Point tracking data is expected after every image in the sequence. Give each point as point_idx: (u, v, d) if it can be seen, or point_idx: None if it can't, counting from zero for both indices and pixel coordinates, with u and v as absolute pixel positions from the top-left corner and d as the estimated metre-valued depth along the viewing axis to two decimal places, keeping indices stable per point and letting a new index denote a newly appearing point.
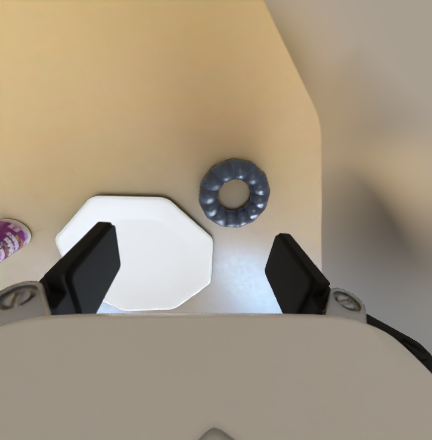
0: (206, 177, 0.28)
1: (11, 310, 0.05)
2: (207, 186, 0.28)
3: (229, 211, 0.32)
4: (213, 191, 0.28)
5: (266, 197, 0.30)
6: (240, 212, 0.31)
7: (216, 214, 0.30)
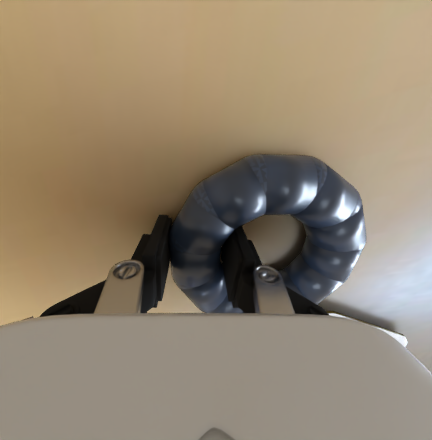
0: None
1: (120, 279, 0.07)
2: (205, 309, 0.11)
3: (293, 274, 0.12)
4: (223, 303, 0.11)
5: (331, 187, 0.08)
6: (315, 259, 0.11)
7: None
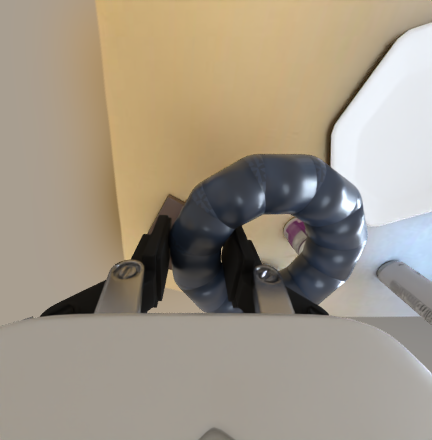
0: None
1: (120, 279, 0.07)
2: (207, 310, 0.12)
3: (295, 273, 0.12)
4: (224, 303, 0.11)
5: (330, 185, 0.08)
6: (316, 258, 0.11)
7: None
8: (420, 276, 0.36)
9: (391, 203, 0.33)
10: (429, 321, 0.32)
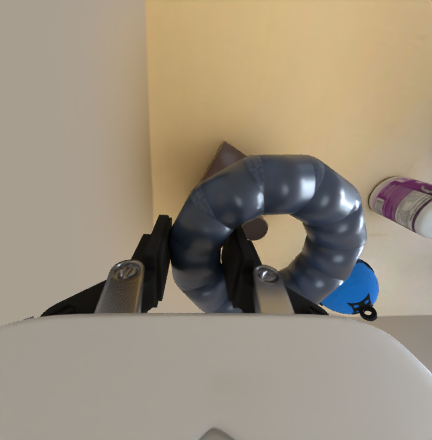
0: None
1: (121, 279, 0.07)
2: (207, 310, 0.12)
3: (295, 273, 0.12)
4: (224, 303, 0.11)
5: (329, 186, 0.08)
6: (316, 258, 0.11)
7: None
8: None
9: None
10: None
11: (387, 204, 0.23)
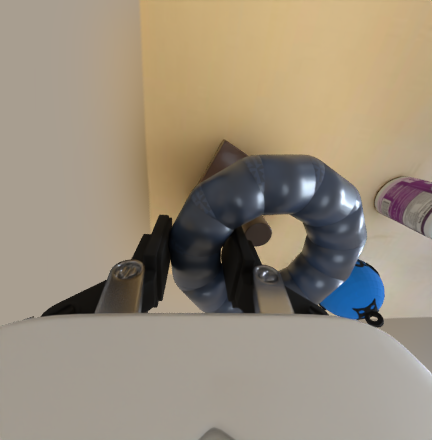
0: None
1: (121, 279, 0.07)
2: (207, 310, 0.12)
3: (295, 273, 0.12)
4: (224, 303, 0.11)
5: (329, 186, 0.08)
6: (316, 258, 0.11)
7: None
8: None
9: None
10: None
11: (394, 205, 0.22)
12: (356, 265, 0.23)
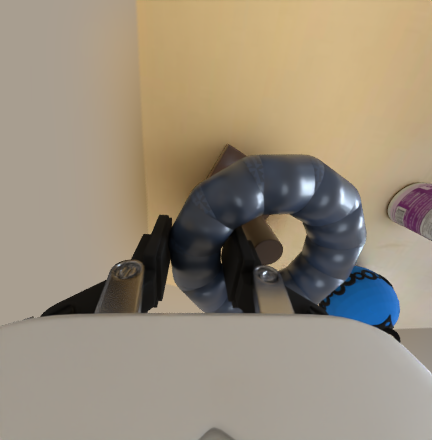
0: None
1: (121, 279, 0.07)
2: (207, 310, 0.12)
3: (295, 273, 0.12)
4: (224, 303, 0.11)
5: (329, 185, 0.08)
6: (316, 258, 0.11)
7: None
8: None
9: None
10: None
11: (410, 214, 0.20)
12: (369, 277, 0.22)
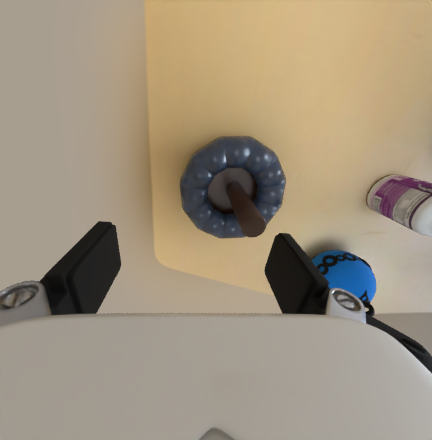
0: (191, 219, 0.21)
1: (12, 309, 0.05)
2: (201, 225, 0.21)
3: None
4: (210, 221, 0.21)
5: (257, 150, 0.17)
6: (260, 194, 0.20)
7: None
8: None
9: None
10: None
11: (385, 202, 0.23)
12: (349, 259, 0.24)
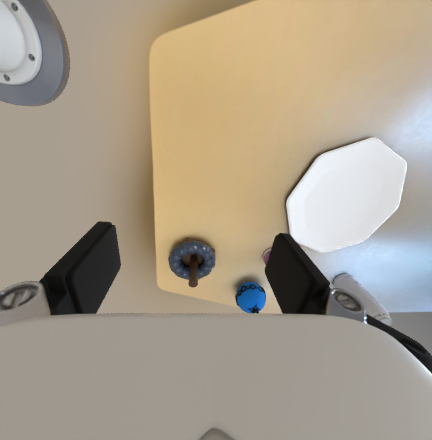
0: (174, 272, 0.47)
1: (11, 310, 0.05)
2: (178, 275, 0.47)
3: (201, 266, 0.47)
4: (182, 273, 0.46)
5: (199, 248, 0.43)
6: (204, 262, 0.46)
7: None
8: (357, 285, 0.53)
9: (333, 238, 0.49)
10: None
11: (265, 262, 0.49)
12: (251, 288, 0.50)
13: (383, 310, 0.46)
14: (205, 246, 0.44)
